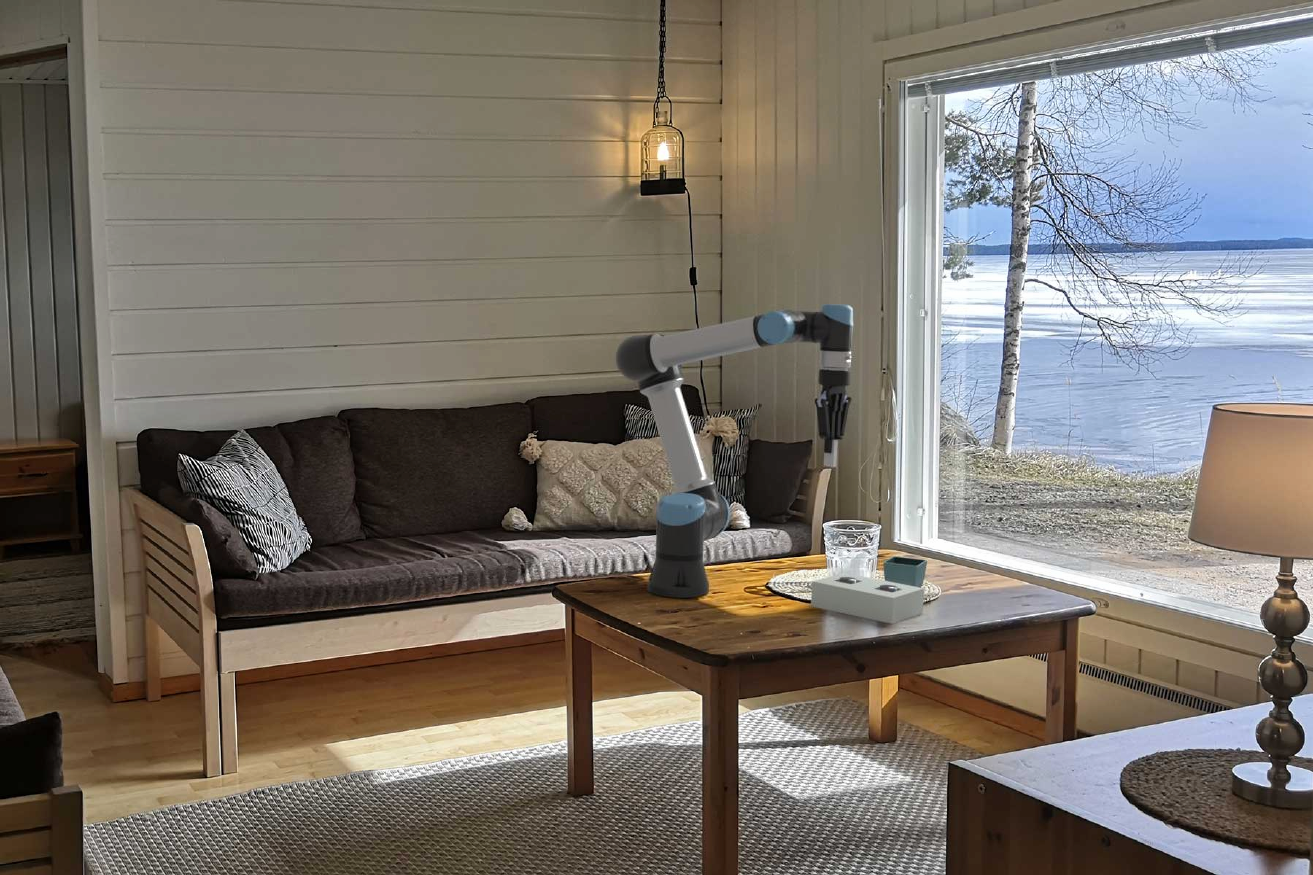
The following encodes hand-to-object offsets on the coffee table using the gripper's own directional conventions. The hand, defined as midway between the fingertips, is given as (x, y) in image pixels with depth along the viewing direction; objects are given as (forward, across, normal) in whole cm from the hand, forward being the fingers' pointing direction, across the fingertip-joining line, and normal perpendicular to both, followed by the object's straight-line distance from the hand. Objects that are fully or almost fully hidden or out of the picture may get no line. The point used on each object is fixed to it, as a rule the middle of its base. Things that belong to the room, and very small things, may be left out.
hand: (830, 466), depth 314 cm
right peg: (+32, -3, -20) cm, 38 cm away
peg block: (+32, -3, -14) cm, 35 cm away
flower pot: (+33, +16, -13) cm, 39 cm away
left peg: (+32, -3, -8) cm, 33 cm away
